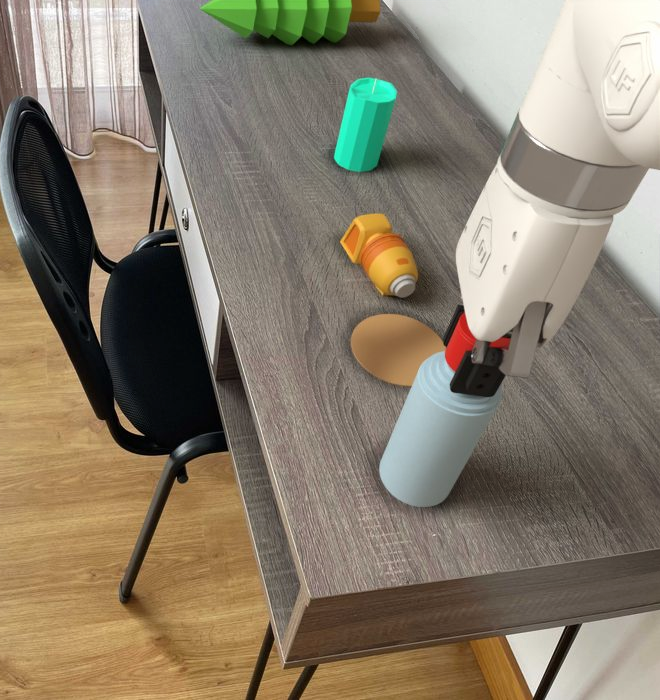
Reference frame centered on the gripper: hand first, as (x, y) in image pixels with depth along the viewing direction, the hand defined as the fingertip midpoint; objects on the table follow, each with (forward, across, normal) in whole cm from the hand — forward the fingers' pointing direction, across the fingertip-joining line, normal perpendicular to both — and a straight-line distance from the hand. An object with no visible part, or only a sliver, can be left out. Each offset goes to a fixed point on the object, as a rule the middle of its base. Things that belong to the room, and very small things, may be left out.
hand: (467, 367), depth 55 cm
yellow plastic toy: (+15, -27, -2) cm, 31 cm away
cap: (-1, 0, 0) cm, 1 cm away
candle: (+15, -50, -4) cm, 52 cm away
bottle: (+15, 0, 0) cm, 15 cm away
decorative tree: (+14, -84, -15) cm, 86 cm away
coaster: (+15, -15, 0) cm, 21 cm away
